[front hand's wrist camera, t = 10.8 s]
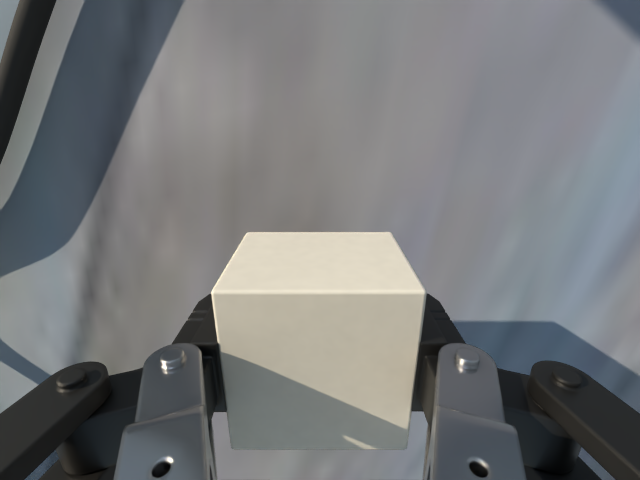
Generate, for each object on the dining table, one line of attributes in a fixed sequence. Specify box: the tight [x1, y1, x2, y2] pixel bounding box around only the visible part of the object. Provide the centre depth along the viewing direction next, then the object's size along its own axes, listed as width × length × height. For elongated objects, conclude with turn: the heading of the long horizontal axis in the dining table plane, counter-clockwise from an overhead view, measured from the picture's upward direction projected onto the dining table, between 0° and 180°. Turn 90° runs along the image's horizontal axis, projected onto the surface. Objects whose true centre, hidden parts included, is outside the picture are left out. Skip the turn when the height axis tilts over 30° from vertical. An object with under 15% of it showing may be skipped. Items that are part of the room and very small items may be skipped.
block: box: [211, 232, 427, 450], centre depth 11 cm, size 5×5×4 cm
